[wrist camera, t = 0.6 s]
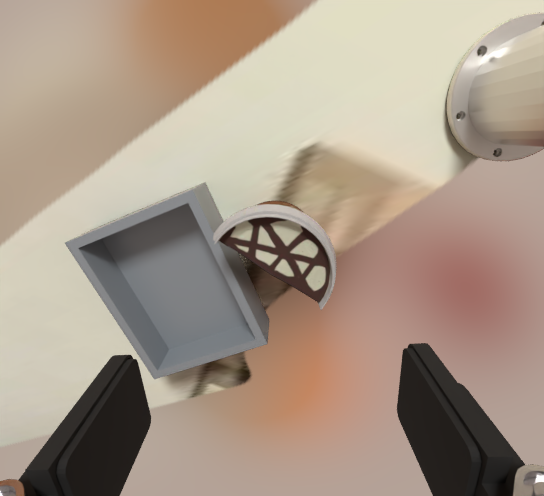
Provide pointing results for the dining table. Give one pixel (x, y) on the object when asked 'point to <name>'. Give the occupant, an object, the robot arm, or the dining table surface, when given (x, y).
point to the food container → (283, 246)
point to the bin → (174, 283)
